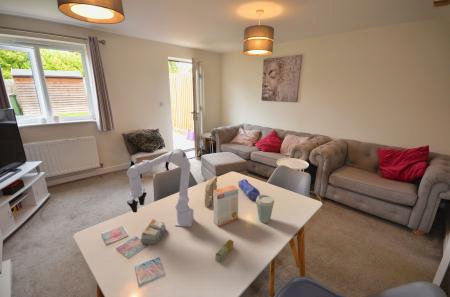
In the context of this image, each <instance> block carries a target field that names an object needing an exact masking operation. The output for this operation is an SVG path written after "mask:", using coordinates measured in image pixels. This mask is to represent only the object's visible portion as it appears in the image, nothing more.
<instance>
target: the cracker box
mask: <svg viewBox="0 0 450 297" xmlns="http://www.w3.org/2000/svg"><path fill="white" fill-rule="evenodd" d="M212 200H213V202H212V203H213V222H214V223H215V225H216V226H217V227H222V226H223V225H226V224H230V223H233V222H235V221H238V220H239V188H238V187H236V186H235V185H229V186H225V187H222V188H217V190H213V198H212Z"/></svg>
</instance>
